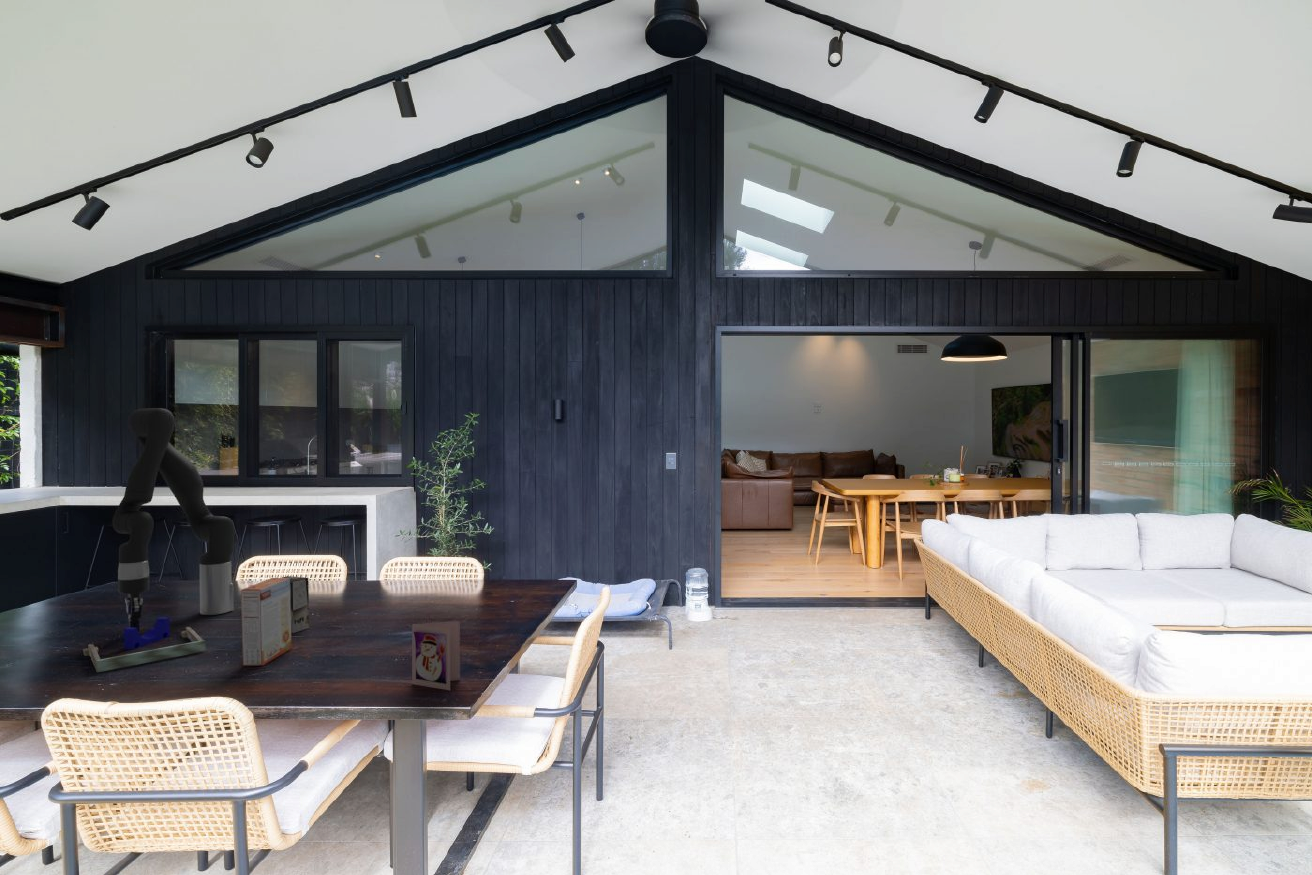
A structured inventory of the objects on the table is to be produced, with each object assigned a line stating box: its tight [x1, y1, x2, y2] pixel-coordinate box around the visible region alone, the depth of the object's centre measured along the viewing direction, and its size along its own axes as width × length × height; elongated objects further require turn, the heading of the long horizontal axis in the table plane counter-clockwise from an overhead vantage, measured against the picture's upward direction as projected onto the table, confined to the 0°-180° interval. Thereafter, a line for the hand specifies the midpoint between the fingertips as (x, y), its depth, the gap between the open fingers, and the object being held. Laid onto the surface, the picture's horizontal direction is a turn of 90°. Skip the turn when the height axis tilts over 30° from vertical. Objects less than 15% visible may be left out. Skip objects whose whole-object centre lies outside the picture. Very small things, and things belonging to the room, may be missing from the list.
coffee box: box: [281, 575, 310, 634], centre depth 214 cm, size 9×6×16 cm
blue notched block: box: [123, 616, 170, 650], centre depth 201 cm, size 12×4×6 cm, turn 170°
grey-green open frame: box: [82, 626, 206, 673], centre depth 193 cm, size 26×22×3 cm
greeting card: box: [411, 620, 461, 691], centre depth 169 cm, size 11×7×15 cm, turn 69°
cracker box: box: [240, 577, 292, 667], centre depth 188 cm, size 14×6×21 cm, turn 178°
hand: (134, 632), depth 208 cm, fingers closed
